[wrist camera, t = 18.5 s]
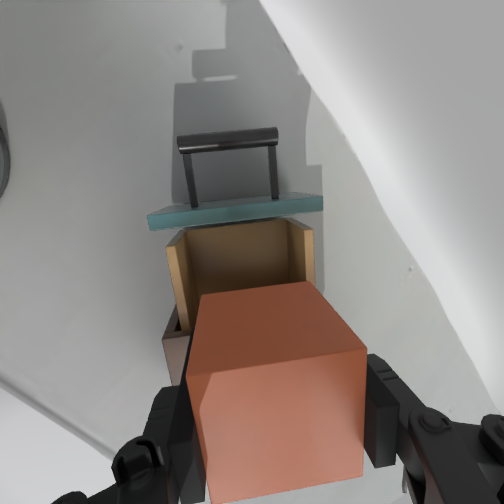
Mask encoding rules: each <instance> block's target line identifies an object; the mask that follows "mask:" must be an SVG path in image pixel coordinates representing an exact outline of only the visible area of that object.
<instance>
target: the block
mask: <svg viewBox="0 0 504 504" xmlns="http://www.w3.org/2000/svg"><path fill="white" fill-rule="evenodd" d="M366 370H367V347H366V346H365V345H364V343H363V342H362V341H361V340H360V339H359V338H358V336H357V335H356V334H355V333H354V332H353V331H352V329H351V328H350V327H349V326H348V325H347V324H346V322H345V321H344V320H343V319H342V318H341V317H340V316H339V314H338V313H337V312H336V311H335V310H334V309H333V307H332V306H331V305H330V304H329V303H328V302H327V300H326V299H325V298H324V297H323V296H322V295H321V293H320V292H319V291H318V290H317V289H316V288H315V286H314V285H313V284H312V283H311V282H310V281H304V282H296V283H289V284H281V285H273V286H266V287H258V288H250V289H243V290H235V291H228V292H220V293H212V294H205V295H201V300H200V305H199V310H198V315H197V321H196V326H195V331H194V336H193V341H192V346H191V351H190V356H189V361H188V366H187V372H186V380H187V385H188V390H189V395H190V400H191V405H192V410H193V415H194V419H195V424H196V429H197V434H198V438H199V443H200V448H201V453H202V458H203V463H204V468H205V473H206V480H207V485H208V490H209V495H210V500H211V504H223V503H228V502H233V501H238V500H244V499H249V498H254V497H259V496H264V495H269V494H275V493H280V492H285V491H290V490H295V489H300V488H306V487H311V486H316V485H321V484H326V483H331V482H336V481H342V480H347V479H352V478H357V477H362V476H363V455H364V424H365V395H366Z"/></svg>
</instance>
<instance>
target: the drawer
mask: <svg viewBox="0 0 504 504" xmlns="http://www.w3.org/2000/svg"><path fill="white" fill-rule="evenodd" d="M177 144H178V149H179V152H180V154H183V160H184V166H185V173H186V179H187V185H188V191H189V197H190V203H191V204H183V205H173V206H168V207H166V208H163V209H161V210H159V211H156V212H154V213H152V214H150V215H147V219H148V224H149V228H150V231H155V230H164V229H172V228H181V227H190V226H199V225H207V224H216V223H225V222H233V221H242V220H251V219H260V218H268V217H277V216H286V215H295V214H303V213H312V212H321V211H323V196H318V195H311V194H304V193H297V192H293V193H284V194H279V190H278V175H277V161H276V146H277V145H278V130H277V127H271V128H259V129H248V130H237V131H226V132H214V133H203V134H192V135H180V136H177ZM267 146H268V161H269V174H270V187H271V195H266V196H256V197H247V198H238V199H229V200H220V201H210V202H201V203H198V198H197V191H196V185H195V178H194V172H193V165H192V159H191V154H192V153H203V152H213V151H224V150H235V149H245V148H256V147H267ZM165 249H166V254H167V259H168V264H169V269H170V274H171V279H172V284H173V289H174V294H175V299H176V305H177V310H178V315H179V320H180V325H181V330H182V331H185V330H192V327H195V326H196V321H197V315H198V310H199V305H200V300H201V295H205V294H212V293H220V292H228V291H235V290H243V289H250V288H258V287H266V286H273V285H281V284H289V283H296V282H304V281H310V282H311V283H312V284H313V285H314V286H315V268H314V238H313V229H312V228H310V227H308V226H306V225H304V224H302V223H300V222H298V221H297V220H295V219H293V218H282V219H273V220H265V221H256V222H247V223H239V224H230V225H221V226H213V227H204V228H195V229H187V230H180V231H179V232H178V234H177V235H176V236H175V237H174V238H173V239H172V240H171V241H170V242H169V244H168V245H167V246H166V247H165Z"/></svg>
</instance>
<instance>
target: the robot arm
mask: <svg viewBox="0 0 504 504" xmlns="http://www.w3.org/2000/svg"><path fill="white" fill-rule="evenodd" d="M8 175H9V156H8V150H7V145H6V141H5V138H4V135H3V133H2V130H1V128H0V198H1V196H2V194H3V192H4V190H5V187H6V184H7V180H8ZM194 331H195V327H192V330H191V334H190V339H189V343H188V348H187V353H186V357H185V362H184V367H183V371H182V376H181V380H180V385H176V386H169V387H163V388H162V389H161V390H160V391H159V393H158V394H157V395H156V397H155V398H154V401H153V404H152V407H151V411H150V413H149V417H148V421H147V423H146V426H145V429H144V432H143V435H142V436H138V437H135V438H134V439H132V440H130V441H129V442H127V443H126V444H125V445H124V446H123V447H122V448H121V449H120V450H119V451H118V453H117V454H116V456H115V457H114V460H113V463H112V466H111V469H112V471H113V474H114V477H115V480H116V483H115V484H113V485H112V486H110V487H109V488H107V489H105V490H103V491H101V492H99V493H97V494H95V495H93V496H91V497H89V498H87V497H86V495H85V494H84V493H82V492H80V491H76V492H70V493H68V494H65V495H63V496H61V497H60V498H58V499H57V500H56V501H54V502H53V503H52V504H178V502H179V497H180V501H181V504H194V503H199V502H204V501H205V486H206V473H205V468H204V463H203V458H202V453H201V448H200V443H199V438H198V434H197V429H196V424H195V419H194V415H193V410H192V405H191V400H190V395H189V390H188V385H187V380H186V372H187V366H188V361H189V356H190V351H191V346H192V341H193V336H194ZM364 449H365V451H366V452H367V454H368V456H369V458H370V460H371V462H372V464H373V466H374V468H380V467H386V466H391V465H395V461H396V453H397V454H398V456H399V457H400V459H401V461H402V462H403V464H404V470H403V480H402V490H403V493H407V487H408V490H409V493H410V496H411V499H412V502H413V504H504V416H501V415H494V414H489V415H486V416H484V417H483V419H482V420H481V425H474V424H466V423H458V422H453V421H451V420H450V419H449V418H448V417H446V416H445V415H444V414H442V413H441V412H439V411H437V410H435V409H433V408H429V407H426V406H425V405H424V404H423V403H422V402H421V401H420V399H419V398H418V397H417V396H416V395H415V394H414V393H413V392H412V391H411V389H410V388H409V387H408V386H407V385H406V384H405V383H404V382H403V381H402V379H401V378H399V376H398V375H397V374H396V373H395V372H394V371H393V370H392V368H391V367H390V366H389V365H388V364H387V363H386V362H385V360H383V359H381V358H380V357H378V356H377V355H375V354H368V355H367V370H366V395H365V424H364Z"/></svg>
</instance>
